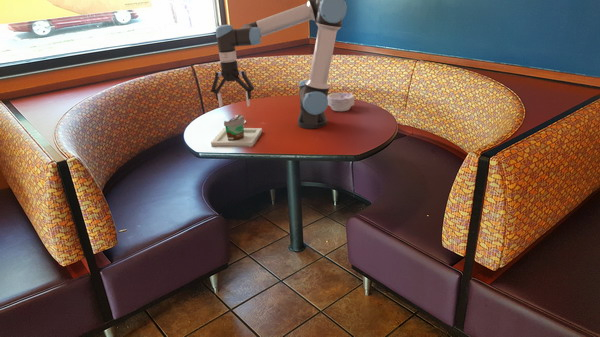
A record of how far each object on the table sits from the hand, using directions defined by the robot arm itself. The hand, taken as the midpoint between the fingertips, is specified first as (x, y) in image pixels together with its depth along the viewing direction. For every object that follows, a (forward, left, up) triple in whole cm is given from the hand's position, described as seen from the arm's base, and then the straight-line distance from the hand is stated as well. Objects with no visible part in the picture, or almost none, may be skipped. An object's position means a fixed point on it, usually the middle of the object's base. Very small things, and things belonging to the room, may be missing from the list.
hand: (234, 106), depth 213 cm
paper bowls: (-47, -48, -17) cm, 69 cm away
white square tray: (0, 0, -17) cm, 17 cm away
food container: (0, +1, -16) cm, 16 cm away
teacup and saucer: (+9, -23, -17) cm, 31 cm away
